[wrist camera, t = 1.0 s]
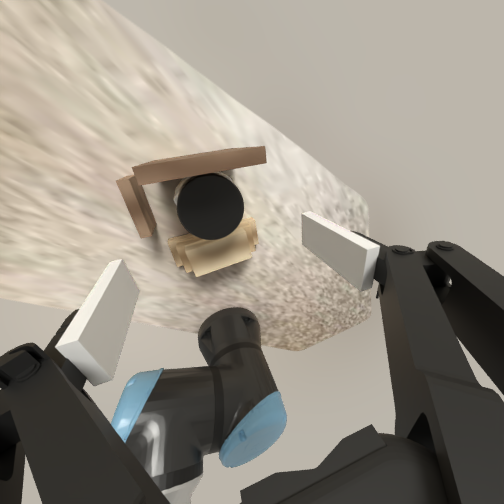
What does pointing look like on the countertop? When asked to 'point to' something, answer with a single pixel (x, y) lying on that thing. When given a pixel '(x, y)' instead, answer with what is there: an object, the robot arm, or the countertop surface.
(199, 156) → the rack
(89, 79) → the countertop surface
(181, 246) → the offcut mid
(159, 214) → the countertop surface
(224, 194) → the jar
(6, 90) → the countertop surface
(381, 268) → the robot arm
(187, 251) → the offcut short
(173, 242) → the offcut long
